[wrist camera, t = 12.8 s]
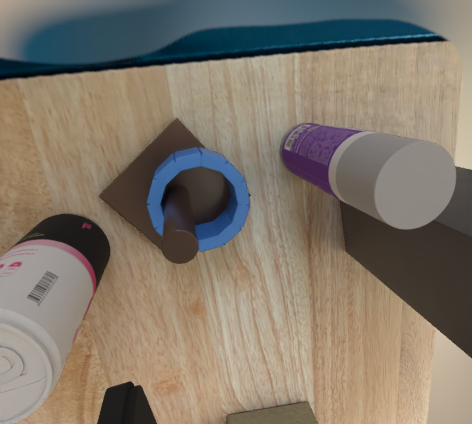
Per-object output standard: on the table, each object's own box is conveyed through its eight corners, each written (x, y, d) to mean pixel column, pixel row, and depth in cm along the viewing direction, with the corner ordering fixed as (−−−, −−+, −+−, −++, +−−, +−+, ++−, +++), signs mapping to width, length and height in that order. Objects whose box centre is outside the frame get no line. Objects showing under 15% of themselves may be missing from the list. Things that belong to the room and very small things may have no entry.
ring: (198, 128, 27) (201, 131, 24) (258, 193, 30) (268, 205, 26) (131, 192, 28) (125, 204, 24) (195, 250, 30) (198, 269, 27)
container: (283, 180, 31) (374, 242, 17) (275, 129, 30) (368, 151, 16) (331, 168, 32) (458, 219, 18) (326, 117, 30) (460, 129, 16)
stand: (176, 117, 28) (179, 126, 16) (248, 192, 31) (292, 243, 19) (101, 192, 29) (53, 251, 17) (178, 258, 32) (181, 345, 20)
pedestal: (413, 157, 33) (669, 212, 16) (417, 231, 35) (639, 346, 19) (337, 177, 32) (520, 258, 15) (346, 251, 35) (510, 391, 18)
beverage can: (124, 263, 31) (82, 396, 17) (56, 292, 31) (-44, 452, 16) (87, 200, 29) (4, 292, 15) (14, 231, 28) (-144, 355, 14)
